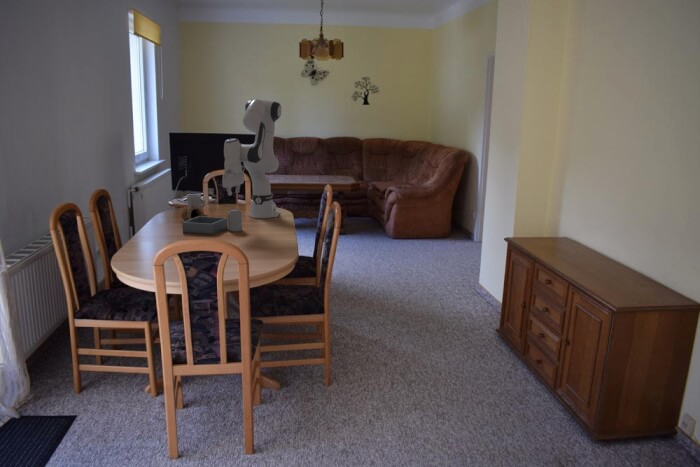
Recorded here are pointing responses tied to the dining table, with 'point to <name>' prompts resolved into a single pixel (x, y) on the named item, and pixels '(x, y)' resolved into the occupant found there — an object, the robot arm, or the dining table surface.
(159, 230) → the dining table surface
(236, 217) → the can
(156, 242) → the dining table surface
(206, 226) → the bin
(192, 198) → the cup
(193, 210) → the clay pipe
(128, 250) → the dining table surface
